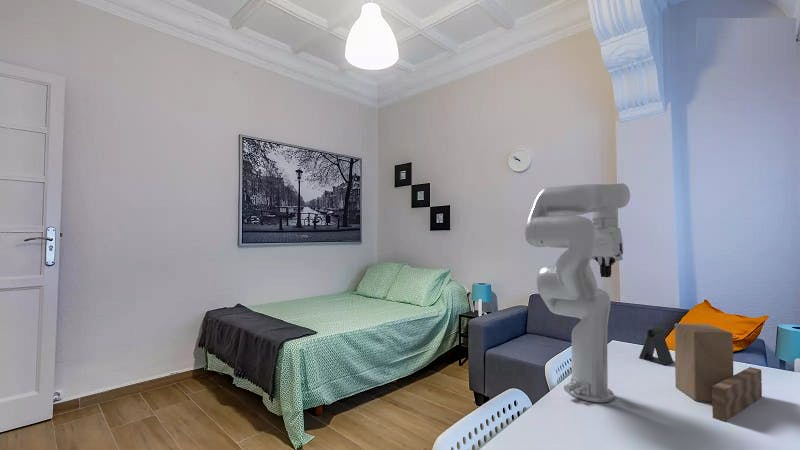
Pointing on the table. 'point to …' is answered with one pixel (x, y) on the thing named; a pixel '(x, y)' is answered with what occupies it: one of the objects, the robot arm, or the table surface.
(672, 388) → the table surface
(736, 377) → the walnut board
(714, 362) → the wooden block
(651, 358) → the phone stand
